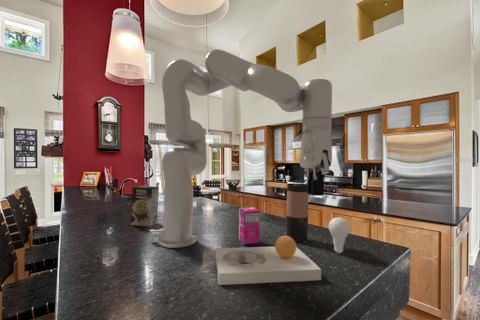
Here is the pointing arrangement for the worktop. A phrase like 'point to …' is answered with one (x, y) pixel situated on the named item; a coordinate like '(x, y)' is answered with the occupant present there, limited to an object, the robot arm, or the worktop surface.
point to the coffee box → (144, 205)
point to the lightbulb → (339, 232)
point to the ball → (285, 246)
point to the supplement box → (249, 226)
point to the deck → (263, 266)
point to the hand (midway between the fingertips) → (315, 194)
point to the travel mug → (297, 212)
